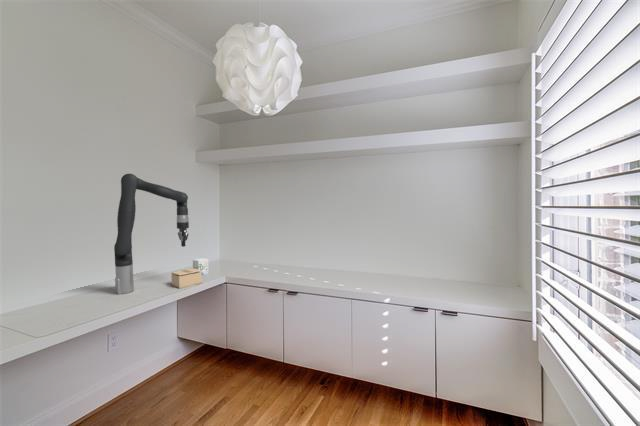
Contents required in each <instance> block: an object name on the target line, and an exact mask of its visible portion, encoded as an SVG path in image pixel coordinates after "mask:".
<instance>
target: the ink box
mask: <svg viewBox="0 0 640 426" xmlns="http://www.w3.org/2000/svg"><path fill="white" fill-rule="evenodd" d="M192 269H198V270H201V271H200V272H202V276H204V275H207V274H209V258H205V257H201V258H200V257H199V258H195V259H192Z"/></svg>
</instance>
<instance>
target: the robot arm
mask: <svg viewBox="0 0 640 426" xmlns="http://www.w3.org/2000/svg"><path fill="white" fill-rule="evenodd" d="M120 187H121V189H120V200H119V202H118V209H117V218H116V219H117V220H116V221H117V222H116V223H117V224H116V226H117V237H116V241H115V244H114V247H113V249H114V251H113V252H114V267H115V278H114V281H115V282H114V283H115V293H116V294H117V295H124V294H129V293H132V292H134V291H135V286H134V285H135V284H134V281H135V280H134V267H133V266H134V265H133V264H134V263H133V244H132V240H133V239H132V236H133V234H132V233H133V229H134V225H135V221H136V219H135V218H136V212H137V211H136V210H137V209H136V193H137V192H136V191H137V190H139V191H144V192H146V193H149V194H151V195H152V194H153V195H156V196H158V197H161V198H164V199H167V200H172V201H175V202H176V229H178V232H177V235H178V239H179V241H180V242H181V243H180V246H181V247H182V248H183V247H186V241H187V240H188V237H189V233H188V231H187V229H189V226H190V225H189V224H190V223H189V221H190V220H189V208H188V199H189V196H188V194H187V193H186V192H183V191H180V190H175V189H172V188H170V187H166V186H164V185H160V184H156V183H151V182H149V181H146V180H143V179H141V178H139V177H138V176H136V175H135V174H133V173H125V174H124V175H122V177H121V179H120Z"/></svg>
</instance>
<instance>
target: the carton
mask: <svg viewBox="0 0 640 426" xmlns="http://www.w3.org/2000/svg"><path fill="white" fill-rule="evenodd" d="M201 284H203V275H202V272H200V271H199V272H194V273H189V274H185V275H180V276H179V275H176V274H172V272H171V286H173V287H174V288H175V287H176V288H177V289H178V290H179V289H180V290H181V289H185V288H189V287H194V286H198V285H201Z"/></svg>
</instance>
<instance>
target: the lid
mask: <svg viewBox="0 0 640 426" xmlns="http://www.w3.org/2000/svg"><path fill="white" fill-rule="evenodd" d="M199 271H201V270H198V269H193V268H189V269H187V268H186V269H181V270H177V271H171V273H172V274H176V275H179V276H180V275H185V274H189V273H194V272H199ZM172 274H171V275H172Z"/></svg>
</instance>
